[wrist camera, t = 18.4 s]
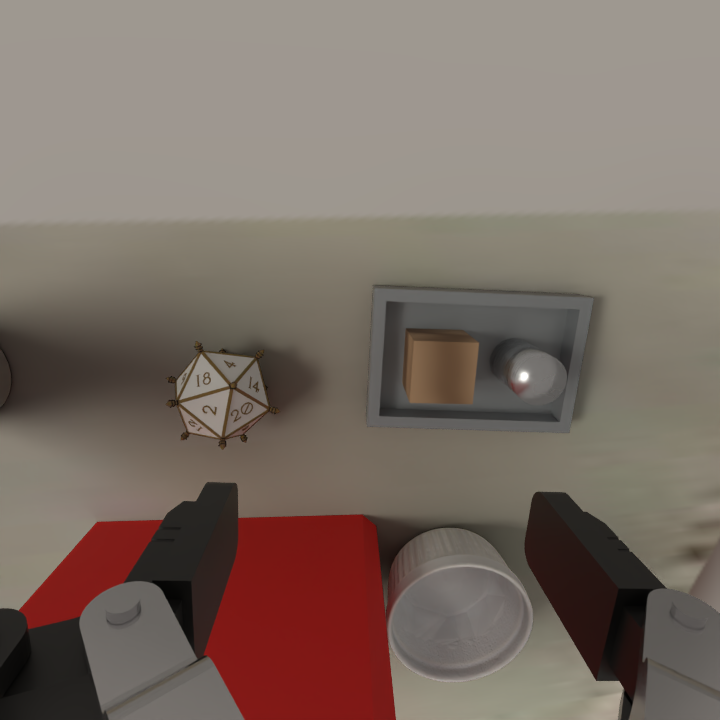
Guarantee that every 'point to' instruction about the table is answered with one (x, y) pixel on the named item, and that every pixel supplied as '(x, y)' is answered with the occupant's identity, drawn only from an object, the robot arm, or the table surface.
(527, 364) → the steel cylinder
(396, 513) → the table surface
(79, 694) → the robot arm
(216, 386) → the game die
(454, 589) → the ramekin
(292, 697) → the book
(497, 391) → the charcoal tray
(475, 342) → the walnut cube
